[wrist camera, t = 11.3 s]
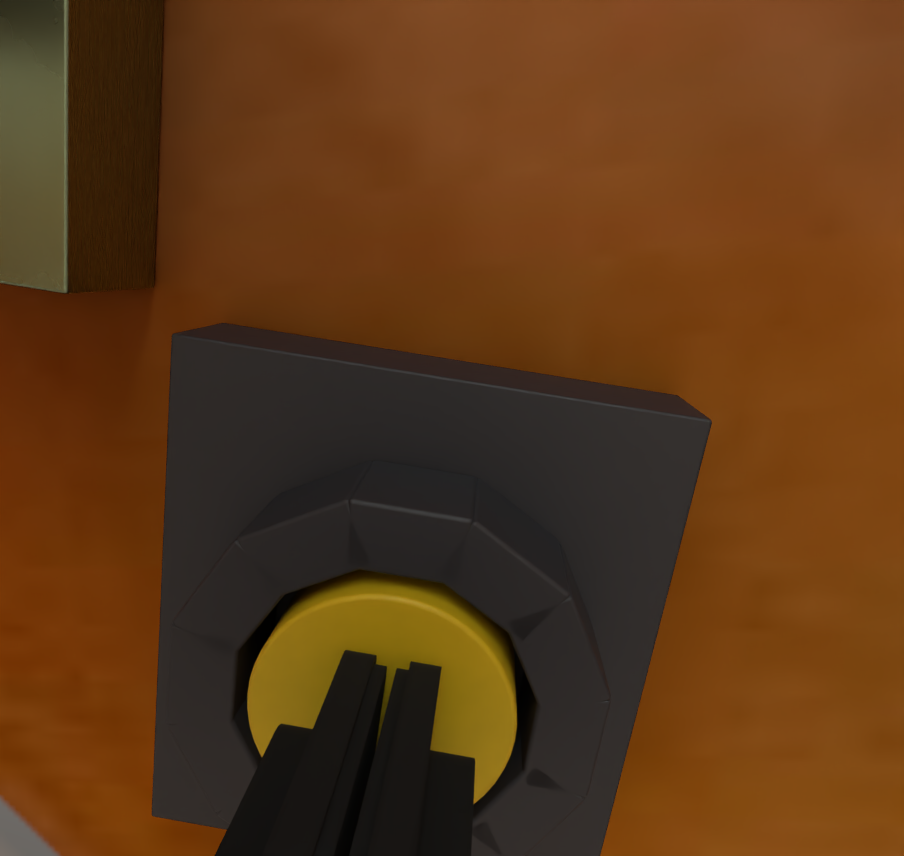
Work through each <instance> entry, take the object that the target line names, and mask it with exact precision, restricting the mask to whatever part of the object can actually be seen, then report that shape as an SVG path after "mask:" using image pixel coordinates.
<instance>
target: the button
mask: <svg viewBox="0 0 904 856" xmlns="http://www.w3.org/2000/svg"><path fill="white" fill-rule="evenodd" d="M345 650H350V651H355V652H361V653H367V654H372V655H376V656H377V660H376V664H378V665H383V666H387V673H386V680H385V687H384V694H383V701H382V708H381V715H380V722H379V729H378V736H377V743H378V739H379V735H380V732H381V728H382V724H383V720H384V716H385V712H386V708H387V704H388V700H389V696H390V692H391V688H392V684H393V680H394V676H395V673H396V669H397V668H400V669H406V670H409V666H410V662H411V661H413V662H418V663H424V664H430V665H435V666H441V667H442V669H441V676H440V683H439V690H438V697H437V704H436V711H435V718H434V725H433V732H432V739H431V746H430V750H433V751H438V752H444V753H449V754H455V755H461V756H466V757H472V758H475V783H474V804H475V803H476V802H477V801H478V800H479V799H480V798H482V797H483V796H484V795H485V794H486V793H487V792H488V791H489V790H490V788H491V787H492V786H493V785H494V784H495V782H496V781H497V779H498V778H499V776H500V775H501V773H502V772H503V770H504V769H505V767H506V764H507V762H508V760H509V758H510V756H511V753H512V750H513V746H514V743H515V738H516V730H517V703H516V680H515V657H514V650H513V644H512V641H511V638H510V636H509V633H508V632H506V631H505V630H504V629H503V628H501V627H500V626H499V625H497V624H496V623H495V622H493V621H492V620H491V619H489V618H488V617H487V616H485V615H484V614H483V613H481V612H480V611H479V610H477V609H476V608H475V607H474V606H472V605H471V604H470V603H468V602H467V601H466V600H464V599H463V598H462V597H460V596H459V595H458V594H456V593H455V592H454V591H452V590H451V589H450V588H449V587H447V586H446V585H445V584H443V583H437V582H431V581H425V580H419V579H413V578H407V577H402V576H396V575H390V574H384V573H378V572H372V571H366V570H360V569H359V570H356V571H353V572H350V573H347V574H344V575H341V576H338V577H335V578H332V579H329V580H326V581H323V582H320V583H318V584H315V585H312V586H309V587H306V588H303V589H300V590H299V591H298V592H297V594H296V595H295V596H294V598H293V599H292V601H291V602H290V604H289V605H288V607H287V609H286V610H285V612H284V614H283V615H282V617H281V618H280V620H279V622H278V623H277V625H276V627H275V628H274V630H273V631H272V633H271V635H270V636H269V638H268V640H267V641H266V643H265V645H264V646H263V648H262V649H261V651H260V653H259V655H258V657H257V659H256V661H255V664H254V667H253V670H252V673H251V676H250V680H249V687H248V693H247V710H248V718H249V725H250V729H251V732H252V736H253V739H254V742H255V744H256V746H257V749H258V751H259V753H260V755H261V757H263V755H264V753H265V751H266V748H267V746H268V744H269V742H270V740H271V738H272V736H273V734H274V732H275V730H276V729H277V727H278V726H279V725H280V724H287V725H293V726H298V727H304V728H309V729H313V727H314V725H315V722H316V720H317V717H318V715H319V712H320V710H321V707H322V705H323V702H324V700H325V697H326V695H327V692H328V690H329V687H330V685H331V682H332V680H333V677H334V675H335V672H336V670H337V667H338V665H339V663H340V660H341V658H342V655H343V653H344V651H345ZM377 743H376V747H377ZM375 751H376V750H375Z"/></svg>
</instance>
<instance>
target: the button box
mask: <svg viewBox="0 0 904 856" xmlns="http://www.w3.org/2000/svg"><path fill="white" fill-rule="evenodd" d="M711 424H712V421H711V420H710V419H709V418H708V417H706V416H705V415H704V414H702V413H701V412H699V411H698V410H697V409H695V408H694V407H693V406H691V405H690V404H688V403H687V402H686V401H684V400H683V399H682V398H680V397H679V396H677V395H671V394H665V393H659V392H653V391H646V390H640V389H634V388H628V387H621V386H615V385H609V384H602V383H596V382H590V381H584V380H577V379H571V378H565V377H559V376H552V375H546V374H540V373H534V372H527V371H521V370H515V369H509V368H502V367H496V366H490V365H483V364H477V363H471V362H465V361H458V360H452V359H446V358H440V357H433V356H427V355H421V354H415V353H408V352H402V351H396V350H390V349H383V348H377V347H371V346H364V345H358V344H352V343H346V342H339V341H333V340H327V339H321V338H314V337H308V336H302V335H296V334H289V333H283V332H277V331H270V330H264V329H258V328H252V327H245V326H239V325H233V324H227V323H221V324H216V325H211V326H207V327H202V328H197V329H193V330H188V331H184V332H179V333H174V334H173V335H172V344H171V368H170V392H169V416H168V439H167V463H166V487H165V511H164V535H163V559H162V583H161V607H160V631H159V654H158V678H157V702H156V726H155V750H154V774H153V798H152V816H155V817H161V818H166V819H172V820H177V821H183V822H188V823H194V824H199V825H205V826H210V827H216V828H221V829H228V827H229V825H230V823H231V821H232V819H233V817H234V815H235V813H236V811H237V809H238V806H239V804H240V802H241V800H242V798H243V796H244V794H245V792H246V790H247V788H248V786H249V784H250V782H251V780H252V777H253V775H254V773H255V771H256V769H257V767H258V765H259V763H260V761H261V759H262V757H261V755H260V753H259V751H258V749H257V746H256V744H255V742H254V739H253V736H252V732H251V729H250V725H249V718H248V710H247V693H248V687H249V680H250V676H251V673H252V670H253V667H254V664H255V661H256V659H257V657H258V655H259V653H260V651H261V649H262V648H263V646H264V645H265V643H266V641H267V640H268V638H269V636H270V635H271V633H272V631H273V630H274V628H275V627H276V625H277V623H278V622H279V620H280V618H281V617H282V615H283V614H284V612H285V610H286V609H287V607H288V605H289V604H290V602H291V601H292V599H293V598H294V596H295V595H296V594H297V592H298V591H299V590H300V589H303V588H306V587H309V586H312V585H315V584H318V583H320V582H323V581H326V580H329V579H332V578H335V577H338V576H341V575H344V574H347V573H350V572H353V571H356V570H359V569H360V570H366V571H372V572H378V573H384V574H390V575H396V576H402V577H407V578H413V579H419V580H425V581H431V582H437V583H443V584H445V585H446V586H447V587H449V588H450V589H451V590H452V591H454V592H455V593H456V594H458V595H459V596H460V597H462V598H463V599H464V600H466V601H467V602H468V603H470V604H471V605H472V606H474V607H475V608H476V609H477V610H479V611H480V612H481V613H483V614H484V615H485V616H487V617H488V618H489V619H491V620H492V621H493V622H495V623H496V624H497V625H499V626H500V627H501V628H503V629H504V630H505V631H506V632H508V633H509V636H510V638H511V641H512V644H513V650H514V657H515V680H516V703H517V730H516V738H515V743H514V746H513V750H512V753H511V756H510V758H509V760H508V762H507V764H506V767H505V769H504V770H503V772H502V773H501V775H500V776H499V778H498V779H497V781H496V782H495V784H494V785H493V786H492V787H491V788H490V790H489V791H488V792H487V793H486V794H485V795H484V796H483V797H482V798H480V799H479V800H478V801H477V802H476V803H475V804H473V826H472V847H471V856H600V854H601V850H602V846H603V842H604V838H605V834H606V830H607V826H608V823H609V819H610V815H611V811H612V807H613V803H614V799H615V795H616V792H617V788H618V784H619V780H620V776H621V772H622V768H623V765H624V761H625V757H626V753H627V749H628V745H629V741H630V737H631V734H632V730H633V726H634V722H635V718H636V714H637V710H638V706H639V703H640V699H641V695H642V691H643V687H644V683H645V679H646V675H647V672H648V668H649V664H650V660H651V656H652V652H653V648H654V644H655V641H656V637H657V633H658V629H659V625H660V621H661V617H662V614H663V610H664V606H665V602H666V598H667V594H668V590H669V586H670V583H671V579H672V575H673V571H674V567H675V563H676V559H677V555H678V552H679V548H680V544H681V540H682V536H683V532H684V528H685V524H686V521H687V517H688V513H689V509H690V505H691V501H692V497H693V493H694V490H695V486H696V482H697V478H698V474H699V470H700V466H701V462H702V459H703V455H704V451H705V447H706V443H707V439H708V435H709V432H710V428H711Z"/></svg>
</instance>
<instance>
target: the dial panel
mask: <svg viewBox="0 0 904 856" xmlns="http://www.w3.org/2000/svg"><path fill="white" fill-rule="evenodd" d="M163 11H164V0H0V284H6V285H12V286H19V287H25V288H31V289H38V290H44V291H50V292H56V293H63V294H73V293H88V292H102V291H116V290H131V289H145V288H153V287H154V273H155V244H156V215H157V186H158V157H159V128H160V99H161V70H162V41H163Z"/></svg>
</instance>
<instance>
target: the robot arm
mask: <svg viewBox="0 0 904 856" xmlns="http://www.w3.org/2000/svg"><path fill="white" fill-rule="evenodd" d="M376 660H377V656H376V655H372V654H367V653H361V652H355V651H350V650H345V651H344V653H343V655H342V658H341V660H340V663H339V665H338V667H337V670H336V672H335V675H334V677H333V680H332V682H331V685H330V687H329V690H328V692H327V695H326V697H325V700H324V702H323V705H322V707H321V710H320V712H319V715H318V717H317V720H316V722H315V725H314V727H313V729H309V728H304V727H298V726H293V725H287V724H280V725H279V726H278V727H277V729H276V730H275V732H274V734H273V736H272V738H271V740H270V742H269V744H268V746H267V748H266V751H265V753H264V755H263V757H262V759H261V761H260V763H259V765H258V767H257V769H256V771H255V773H254V775H253V777H252V780H251V782H250V784H249V786H248V788H247V790H246V792H245V794H244V796H243V798H242V800H241V802H240V804H239V806H238V809H237V811H236V813H235V815H234V817H233V819H232V821H231V823H230V825H229V827H228V829H227V831H226V833H225V836H224V838H223V840H222V842H221V844H220V846H219V848H218V850H217V852H216V854H215V856H471V847H472V826H473V804H474V783H475V758H472V757H466V756H461V755H455V754H449V753H444V752H438V751H433V750H430V746H431V739H432V732H433V725H434V718H435V711H436V704H437V697H438V690H439V683H440V676H441V669H442V667H441V666H435V665H430V664H424V663H418V662H413V661H411V662H410V666H409V670H406V669H400V668H397V669H396V673H395V676H394V680H393V684H392V688H391V692H390V696H389V700H388V704H387V708H386V712H385V716H384V720H383V724H382V728H381V732H380V735H379V739H378V743H377V736H378V729H379V722H380V715H381V708H382V701H383V694H384V687H385V680H386V673H387V666H383V665H378V664H376ZM376 743H377V747H376ZM375 750H376V751H375Z"/></svg>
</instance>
